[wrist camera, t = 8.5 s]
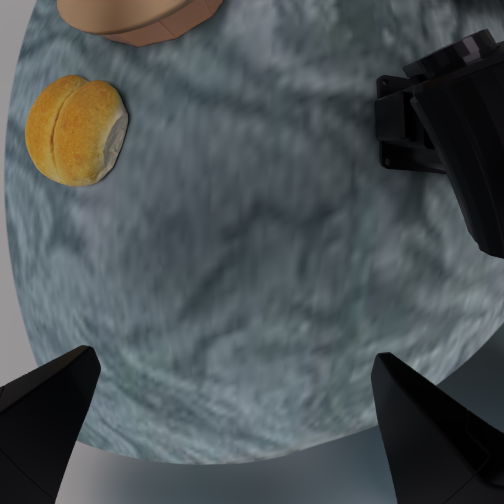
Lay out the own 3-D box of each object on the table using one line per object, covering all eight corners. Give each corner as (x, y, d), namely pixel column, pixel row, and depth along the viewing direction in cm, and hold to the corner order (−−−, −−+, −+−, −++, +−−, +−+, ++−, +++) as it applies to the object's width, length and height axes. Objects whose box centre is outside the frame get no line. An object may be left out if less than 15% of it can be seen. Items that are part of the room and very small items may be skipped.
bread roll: (59, 73, 17) (28, 67, 13) (144, 92, 17) (118, 83, 14) (33, 165, 19) (2, 172, 16) (109, 198, 20) (80, 210, 16)
